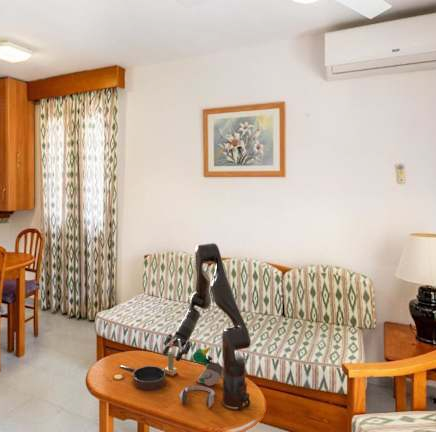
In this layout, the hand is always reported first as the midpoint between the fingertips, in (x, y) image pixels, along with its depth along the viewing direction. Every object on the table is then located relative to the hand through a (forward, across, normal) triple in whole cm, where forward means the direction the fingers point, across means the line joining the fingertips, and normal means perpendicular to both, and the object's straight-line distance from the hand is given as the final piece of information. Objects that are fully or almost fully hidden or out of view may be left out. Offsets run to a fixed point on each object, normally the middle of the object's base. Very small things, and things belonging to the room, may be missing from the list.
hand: (170, 357), depth 188 cm
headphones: (+13, +23, 0) cm, 26 cm away
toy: (+2, +20, +11) cm, 23 cm away
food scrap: (+19, -16, -8) cm, 26 cm away
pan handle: (+15, -14, -6) cm, 21 cm away
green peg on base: (+6, 0, +6) cm, 9 cm away
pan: (+15, -2, -2) cm, 15 cm away
